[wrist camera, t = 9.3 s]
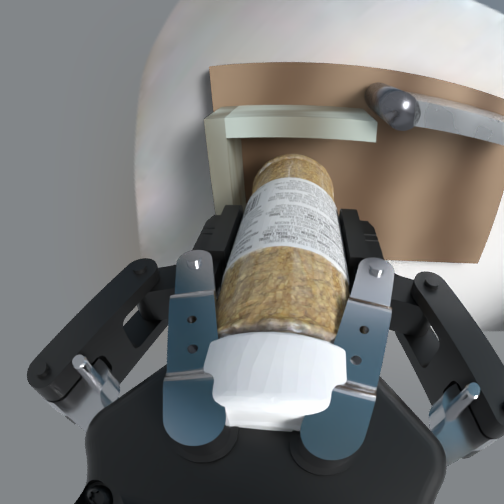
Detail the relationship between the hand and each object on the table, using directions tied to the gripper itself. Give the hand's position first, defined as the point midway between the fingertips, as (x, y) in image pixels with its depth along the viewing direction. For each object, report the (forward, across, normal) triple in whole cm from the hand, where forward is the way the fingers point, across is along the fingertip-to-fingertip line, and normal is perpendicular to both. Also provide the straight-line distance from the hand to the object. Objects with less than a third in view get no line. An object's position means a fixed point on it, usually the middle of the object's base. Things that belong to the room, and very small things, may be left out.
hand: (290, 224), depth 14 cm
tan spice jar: (+4, 0, 0) cm, 4 cm away
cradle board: (+7, -5, 0) cm, 9 cm away
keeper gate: (+5, -9, -5) cm, 12 cm away
